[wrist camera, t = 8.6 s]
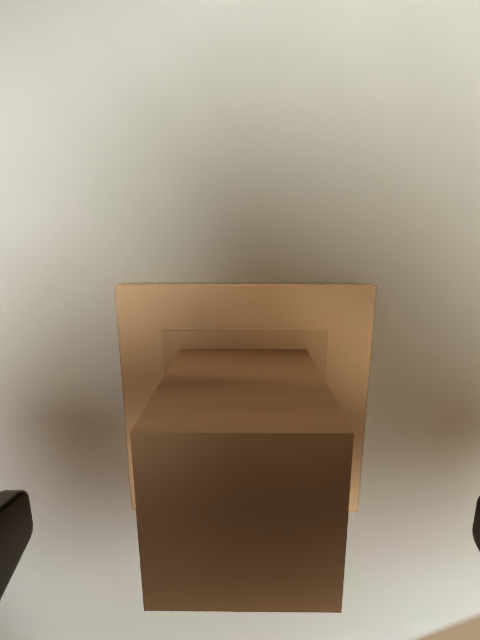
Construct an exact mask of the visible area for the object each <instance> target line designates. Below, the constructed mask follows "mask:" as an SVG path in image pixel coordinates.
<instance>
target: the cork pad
mask: <svg viewBox="0 0 480 640" xmlns="http://www.w3.org/2000/svg"><path fill="white" fill-rule="evenodd" d="M115 295H116V308H117V321H118V334H119V346H120V359H121V372H122V385H123V398H124V411H125V424H126V437H127V450H128V462H129V475H130V488H131V501H132V510H136V503H135V491H134V478H133V466H132V453H131V441H130V431H131V430H132V428H133V426H134V425H135V423H136V422H137V420H138V418H139V417H140V415H141V413H142V412H143V410H144V408H145V407H146V405H147V403H148V402H149V400H150V398H151V397H152V395H153V393H154V392H155V390H156V388H157V387H158V385H159V383H160V382H161V380H162V378H163V377H164V375H165V373H166V372H167V370H168V368H169V367H170V365H171V363H172V362H173V360H174V358H175V357H176V355H177V353H178V352H179V350H180V349H307V351H308V353H309V355H310V357H311V358H312V360H313V362H314V364H315V365H316V367H317V369H318V371H319V372H320V374H321V376H322V378H323V379H324V381H325V383H326V385H327V386H328V388H329V390H330V392H331V393H332V395H333V397H334V399H335V401H336V402H337V404H338V406H339V408H340V409H341V411H342V413H343V415H344V416H345V418H346V420H347V422H348V423H349V425H350V427H351V429H352V430H353V432H354V441H353V455H352V469H351V483H350V497H349V511H348V512H358V500H359V488H360V476H361V464H362V452H363V441H364V429H365V417H366V405H367V393H368V381H369V369H370V357H371V345H372V333H373V321H374V309H375V297H376V286H374V285H371V284H119V285H116V286H115Z"/></svg>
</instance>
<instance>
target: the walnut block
mask: <svg viewBox="0 0 480 640" xmlns="http://www.w3.org/2000/svg"><path fill="white" fill-rule="evenodd" d="M130 441H131V453H132V466H133V478H134V491H135V503H136V516H137V528H138V541H139V553H140V565H141V578H142V590H143V603H144V611H233V612H335V613H341V609H342V595H343V581H344V567H345V553H346V539H347V525H348V511H349V497H350V483H351V469H352V455H353V441H354V432H353V430H352V429H351V427H350V425H349V423H348V422H347V420H346V418H345V416H344V415H343V413H342V411H341V409H340V408H339V406H338V404H337V402H336V401H335V399H334V397H333V395H332V393H331V392H330V390H329V388H328V386H327V385H326V383H325V381H324V379H323V378H322V376H321V374H320V372H319V371H318V369H317V367H316V365H315V364H314V362H313V360H312V358H311V357H310V355H309V353H308V351H307V349H180V350H179V352H178V353H177V355H176V357H175V358H174V360H173V362H172V363H171V365H170V367H169V368H168V370H167V372H166V373H165V375H164V377H163V378H162V380H161V382H160V383H159V385H158V387H157V388H156V390H155V392H154V393H153V395H152V397H151V398H150V400H149V402H148V403H147V405H146V407H145V408H144V410H143V412H142V413H141V415H140V417H139V418H138V420H137V422H136V423H135V425H134V426H133V428H132V430H131V431H130Z"/></svg>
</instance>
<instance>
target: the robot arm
mask: <svg viewBox="0 0 480 640" xmlns="http://www.w3.org/2000/svg"><path fill="white" fill-rule="evenodd" d="M32 530H33V521H32V515H31V508H30V501H29V496H28V494H27V492H26V491H24V490H4V491H1V492H0V600H1V597H2V595H3V593H4V591H5V589H6V587H7V585H8V583H9V581H10V579H11V577H12V575H13V573H14V571H15V569H16V567H17V564H18V562H19V560H20V558H21V556H22V554H23V552H24V550H25V548H26V546H27V544H28V542H29V540H30V537H31V534H32ZM473 537H474V541H475V543H476V545H477V547H478V549H479V551H480V496H479V498H478V500H477V504H476V510H475V516H474V522H473Z"/></svg>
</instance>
